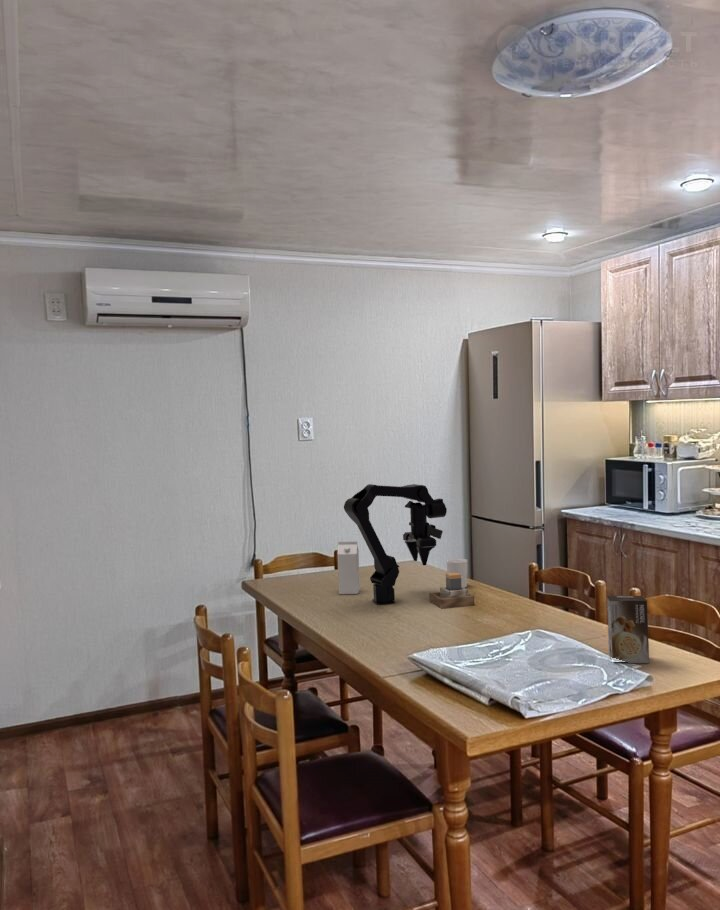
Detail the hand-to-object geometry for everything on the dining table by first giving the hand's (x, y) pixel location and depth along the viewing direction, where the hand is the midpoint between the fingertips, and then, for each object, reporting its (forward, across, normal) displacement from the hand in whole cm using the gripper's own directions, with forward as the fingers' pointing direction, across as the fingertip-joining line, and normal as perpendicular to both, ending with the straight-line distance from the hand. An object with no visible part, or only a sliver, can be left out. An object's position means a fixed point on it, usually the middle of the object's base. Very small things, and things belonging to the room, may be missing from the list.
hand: (420, 563), depth 273 cm
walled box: (+12, -14, -6) cm, 19 cm away
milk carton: (+12, +17, +22) cm, 30 cm away
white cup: (+12, +9, -18) cm, 24 cm away
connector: (+10, -14, -7) cm, 19 cm away
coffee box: (+12, -88, -24) cm, 92 cm away
